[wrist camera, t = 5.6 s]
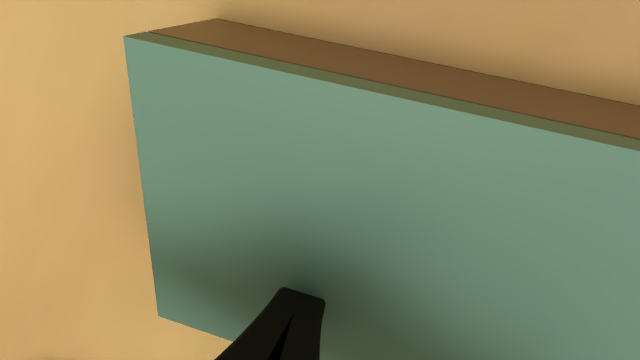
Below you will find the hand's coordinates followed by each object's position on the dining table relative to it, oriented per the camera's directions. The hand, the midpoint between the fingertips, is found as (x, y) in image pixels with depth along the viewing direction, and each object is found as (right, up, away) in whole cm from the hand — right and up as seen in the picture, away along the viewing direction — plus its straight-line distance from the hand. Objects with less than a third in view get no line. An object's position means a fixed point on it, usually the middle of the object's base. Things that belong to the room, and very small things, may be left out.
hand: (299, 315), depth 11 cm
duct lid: (+3, +2, 0) cm, 4 cm away
